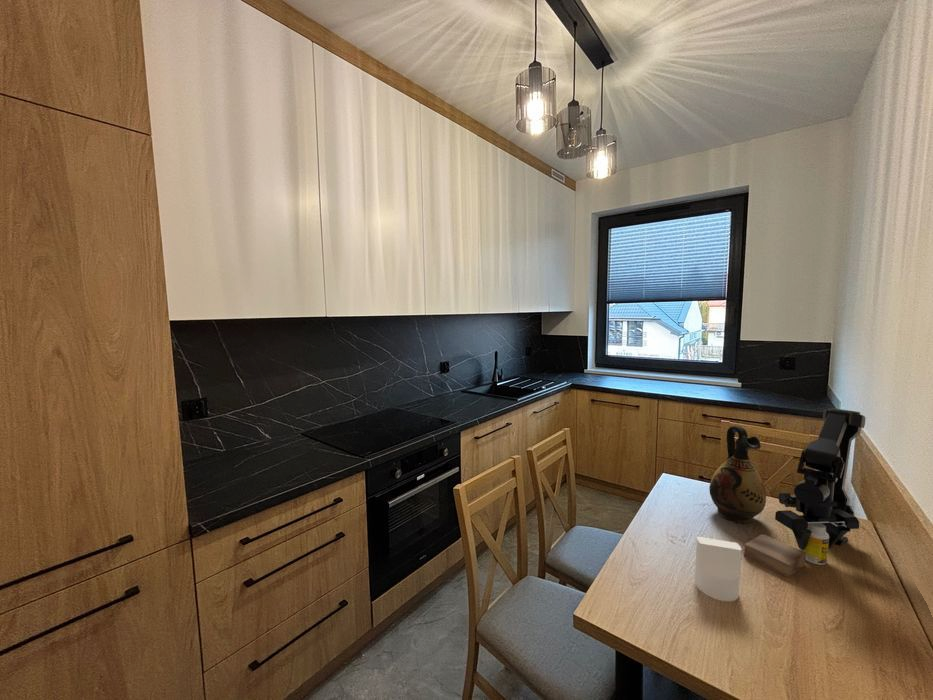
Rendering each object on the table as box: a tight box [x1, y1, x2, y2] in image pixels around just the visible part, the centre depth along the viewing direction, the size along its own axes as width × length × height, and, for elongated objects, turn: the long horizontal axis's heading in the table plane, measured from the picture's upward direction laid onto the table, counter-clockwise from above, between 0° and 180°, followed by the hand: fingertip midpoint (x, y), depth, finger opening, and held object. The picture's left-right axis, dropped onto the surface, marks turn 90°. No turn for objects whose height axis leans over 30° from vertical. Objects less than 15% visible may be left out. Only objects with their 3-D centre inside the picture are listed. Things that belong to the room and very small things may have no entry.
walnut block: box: [743, 533, 806, 578], centre depth 103 cm, size 10×10×4 cm
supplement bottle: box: [799, 523, 829, 566], centre depth 103 cm, size 6×6×10 cm
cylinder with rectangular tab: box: [694, 536, 742, 602], centre depth 92 cm, size 9×9×12 cm
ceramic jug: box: [708, 425, 767, 524], centre depth 125 cm, size 17×15×30 cm
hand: (813, 548), depth 103 cm, fingers open, 7 cm apart
